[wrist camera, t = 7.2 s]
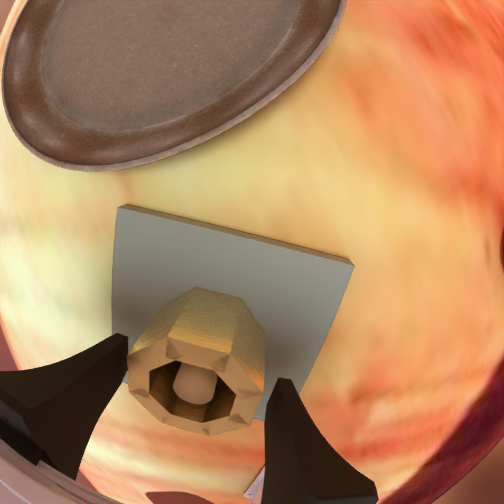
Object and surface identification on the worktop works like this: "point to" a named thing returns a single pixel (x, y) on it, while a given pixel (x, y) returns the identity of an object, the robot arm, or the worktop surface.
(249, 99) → the plant saucer
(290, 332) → the post plate
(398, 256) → the worktop surface
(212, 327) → the collar
